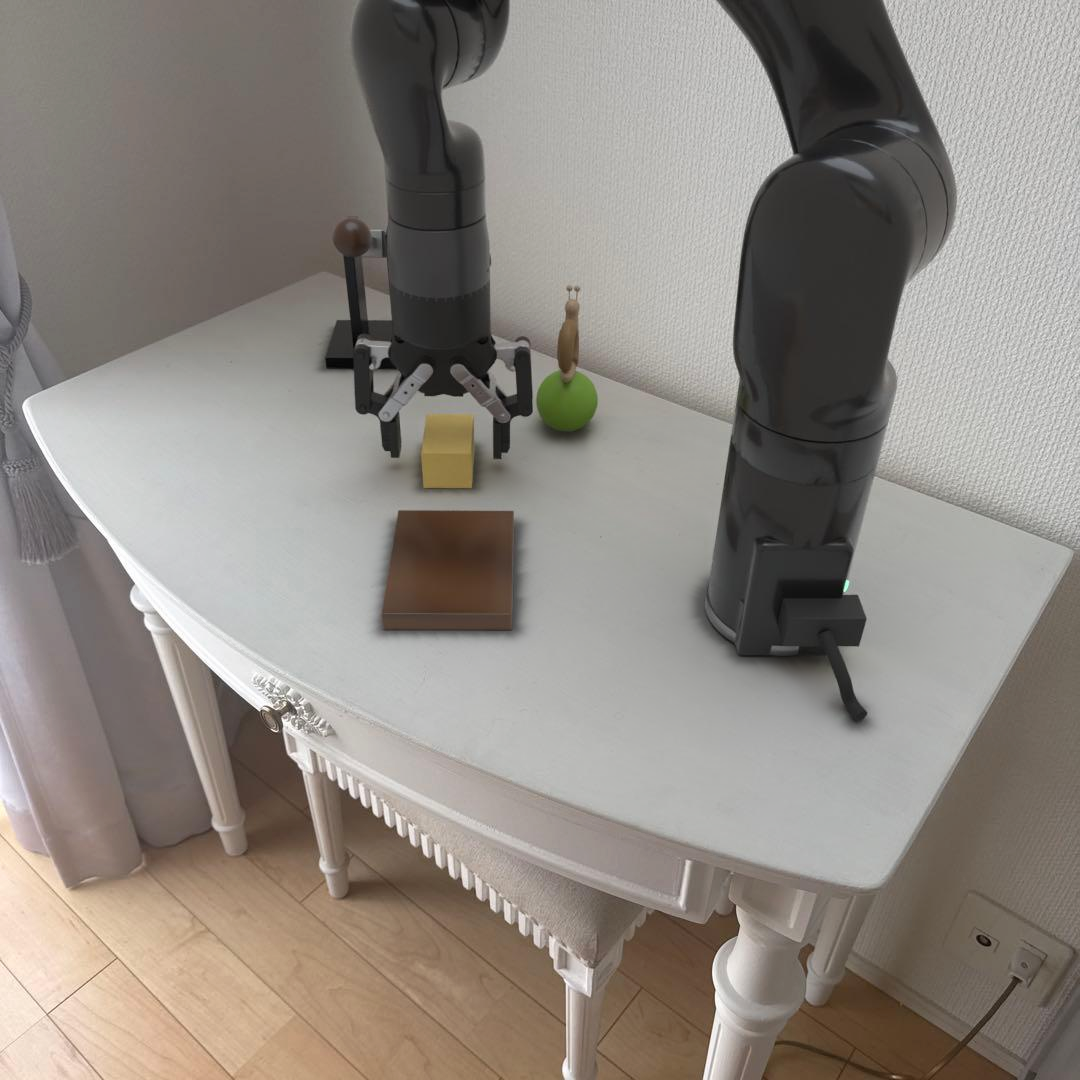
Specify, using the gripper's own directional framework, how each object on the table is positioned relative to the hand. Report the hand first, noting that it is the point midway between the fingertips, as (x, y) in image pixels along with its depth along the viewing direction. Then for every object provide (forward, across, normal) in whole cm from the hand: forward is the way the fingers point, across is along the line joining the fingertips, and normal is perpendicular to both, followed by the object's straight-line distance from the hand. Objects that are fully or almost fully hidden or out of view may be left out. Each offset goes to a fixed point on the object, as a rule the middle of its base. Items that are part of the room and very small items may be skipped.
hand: (447, 453), depth 88 cm
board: (+1, +1, -14) cm, 14 cm away
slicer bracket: (+1, -8, +21) cm, 22 cm away
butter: (+1, 0, 0) cm, 1 cm away
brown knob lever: (-11, -8, +15) cm, 20 cm away
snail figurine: (+2, +10, +7) cm, 13 cm away
